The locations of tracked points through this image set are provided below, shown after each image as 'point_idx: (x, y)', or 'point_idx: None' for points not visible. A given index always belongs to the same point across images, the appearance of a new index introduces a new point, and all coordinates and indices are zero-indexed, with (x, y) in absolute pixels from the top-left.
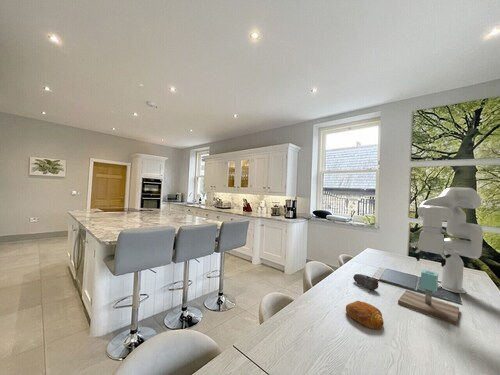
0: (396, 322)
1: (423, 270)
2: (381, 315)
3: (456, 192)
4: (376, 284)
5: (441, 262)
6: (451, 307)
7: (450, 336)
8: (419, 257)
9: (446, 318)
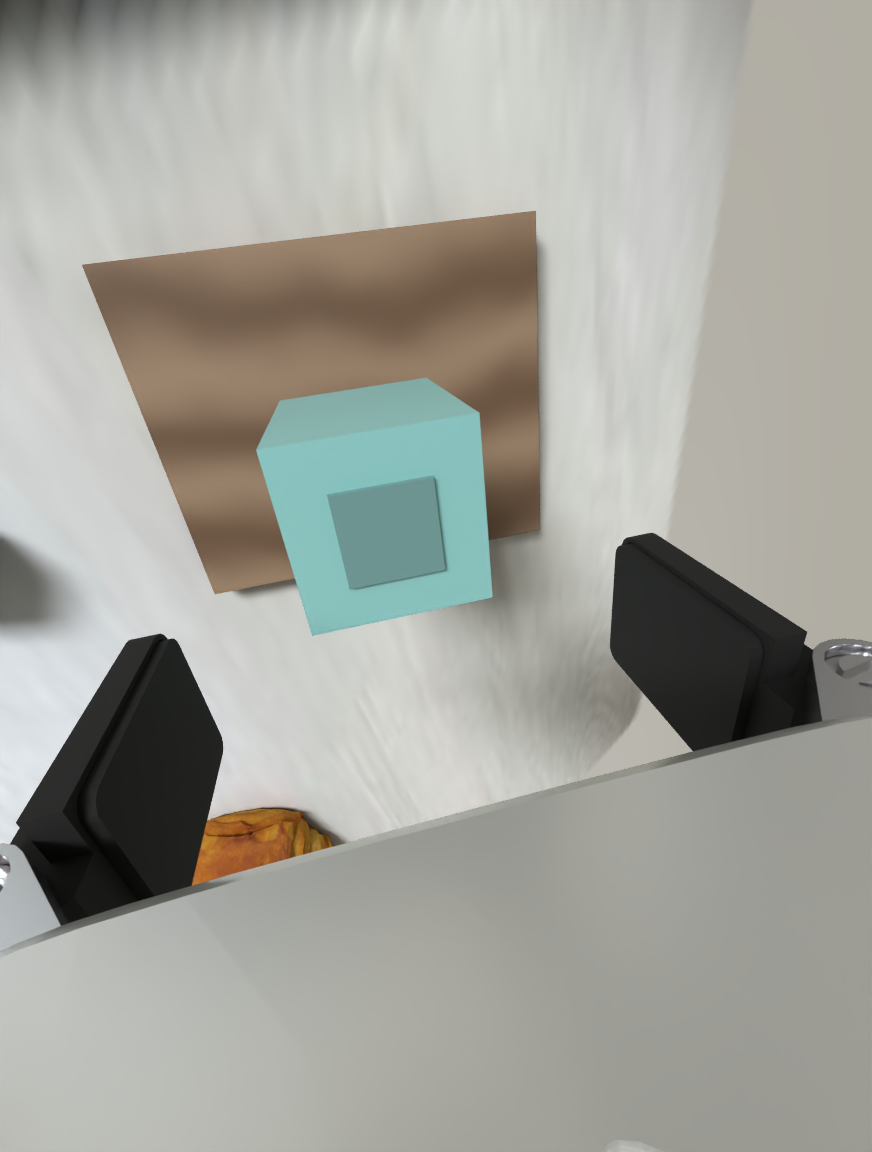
0: (340, 763)
1: (288, 516)
2: (303, 845)
3: None
4: None
5: (658, 708)
6: (491, 303)
7: (521, 656)
8: (167, 723)
9: (492, 536)
